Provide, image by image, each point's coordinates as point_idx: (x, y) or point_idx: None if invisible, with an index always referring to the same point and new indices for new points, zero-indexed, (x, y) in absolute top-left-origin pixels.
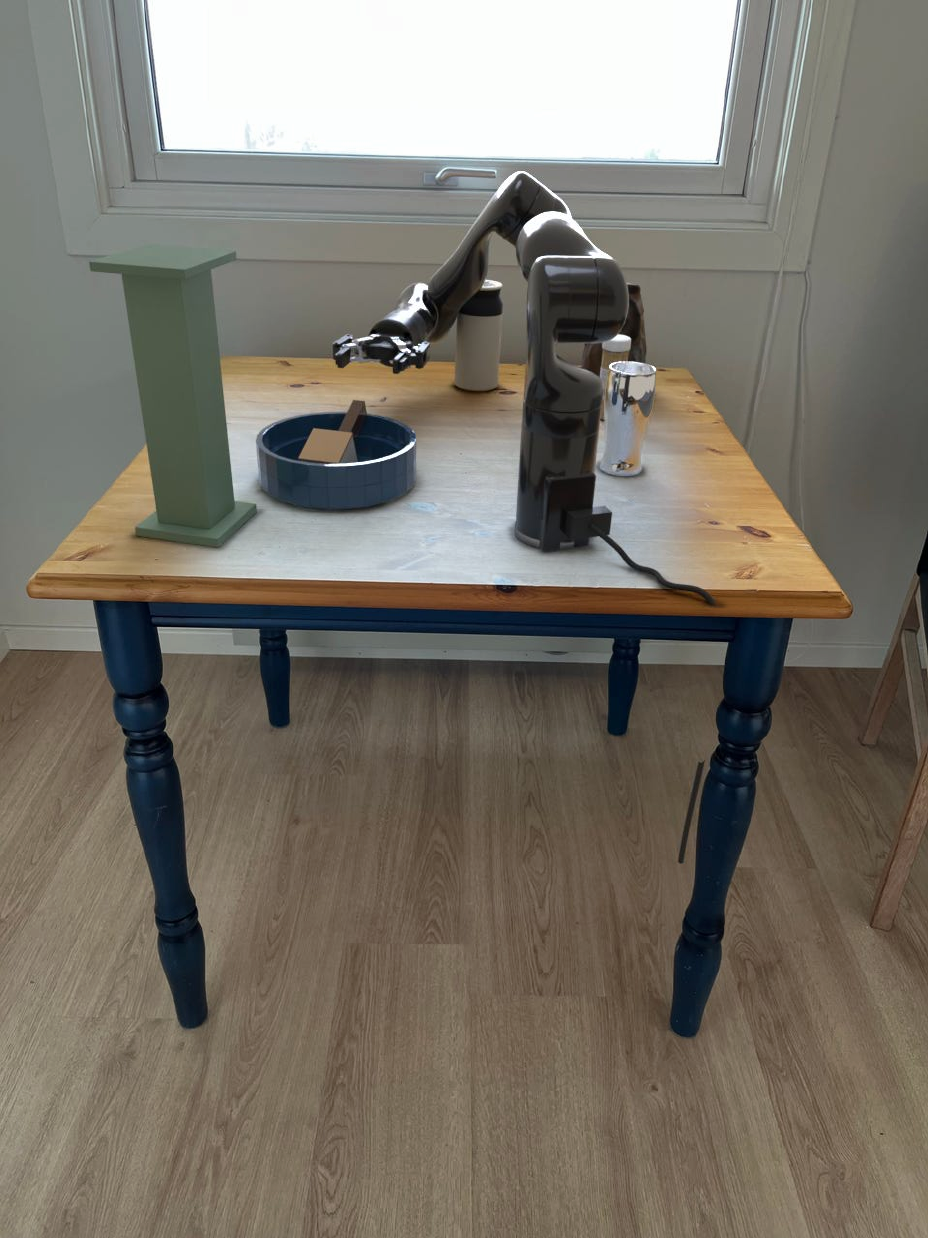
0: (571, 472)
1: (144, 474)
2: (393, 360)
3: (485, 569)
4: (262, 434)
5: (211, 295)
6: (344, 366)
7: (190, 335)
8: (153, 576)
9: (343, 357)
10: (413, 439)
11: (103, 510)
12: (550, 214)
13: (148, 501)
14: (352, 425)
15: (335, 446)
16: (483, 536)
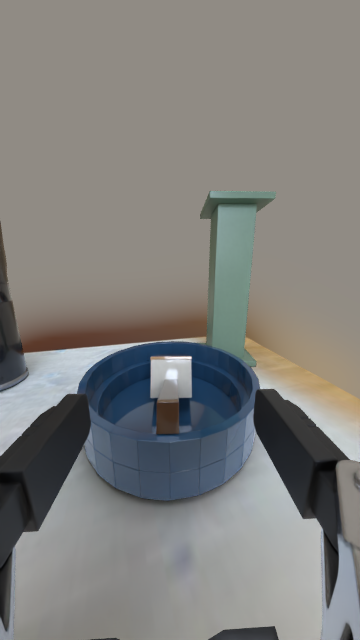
0: None
1: (325, 385)
2: (83, 394)
3: (66, 354)
4: (239, 361)
5: (216, 225)
6: (263, 444)
7: (210, 247)
8: (205, 336)
9: (263, 410)
10: (83, 381)
11: (279, 355)
12: None
13: (271, 364)
14: (162, 387)
15: (162, 355)
16: (52, 373)
